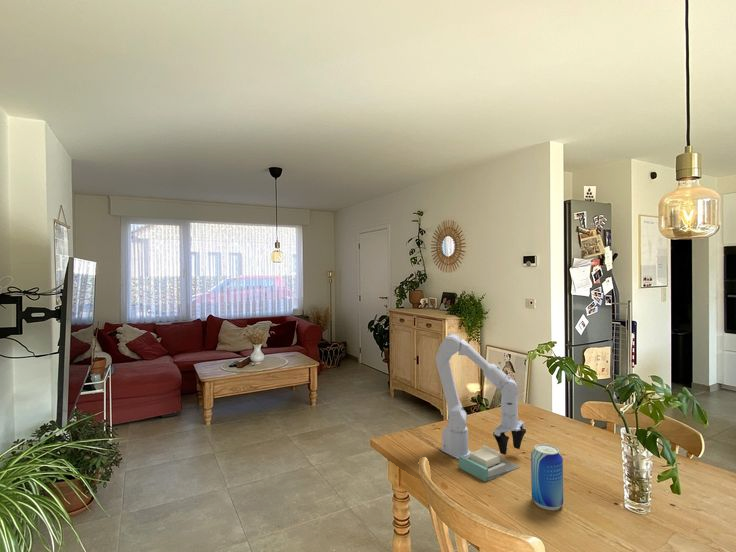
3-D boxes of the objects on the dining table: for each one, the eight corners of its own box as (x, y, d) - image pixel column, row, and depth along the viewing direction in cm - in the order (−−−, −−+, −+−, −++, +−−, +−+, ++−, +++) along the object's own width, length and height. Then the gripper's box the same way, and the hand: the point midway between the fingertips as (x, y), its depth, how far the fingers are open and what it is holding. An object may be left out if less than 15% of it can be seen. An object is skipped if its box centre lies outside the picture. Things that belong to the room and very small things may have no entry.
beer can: (545, 514, 111) (544, 456, 111) (525, 498, 119) (524, 444, 119) (570, 509, 113) (569, 452, 113) (549, 493, 121) (548, 441, 121)
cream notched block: (470, 463, 138) (470, 449, 138) (484, 458, 142) (484, 444, 142) (486, 472, 132) (486, 457, 132) (500, 466, 136) (500, 452, 136)
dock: (458, 469, 138) (458, 455, 138) (492, 455, 148) (492, 443, 148) (486, 484, 128) (486, 469, 128) (520, 468, 138) (520, 455, 138)
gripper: (505, 420, 137) (506, 460, 137) (531, 412, 145) (532, 449, 145) (489, 414, 143) (489, 452, 143) (515, 407, 150) (515, 442, 151)
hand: (510, 450), depth 144 cm, fingers open, 7 cm apart
